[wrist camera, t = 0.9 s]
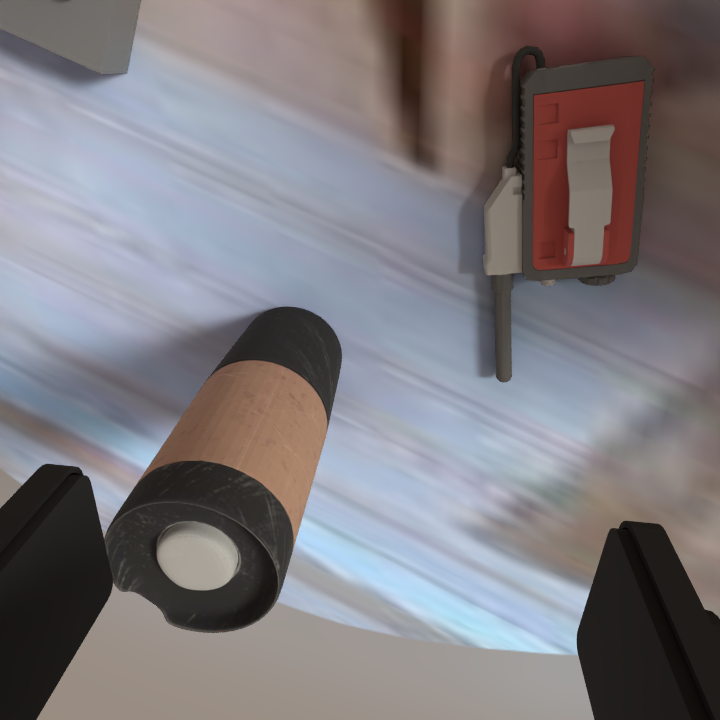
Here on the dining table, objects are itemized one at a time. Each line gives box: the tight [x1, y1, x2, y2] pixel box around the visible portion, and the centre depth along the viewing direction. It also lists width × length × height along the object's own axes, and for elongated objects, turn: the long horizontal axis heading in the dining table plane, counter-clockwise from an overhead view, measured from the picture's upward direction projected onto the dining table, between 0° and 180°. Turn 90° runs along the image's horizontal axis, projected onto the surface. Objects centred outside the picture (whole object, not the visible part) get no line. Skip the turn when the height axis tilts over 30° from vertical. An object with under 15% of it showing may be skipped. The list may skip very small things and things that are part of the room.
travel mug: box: [104, 307, 342, 633], centre depth 32 cm, size 8×8×20 cm
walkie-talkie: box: [483, 46, 655, 382], centre depth 34 cm, size 9×4×20 cm
